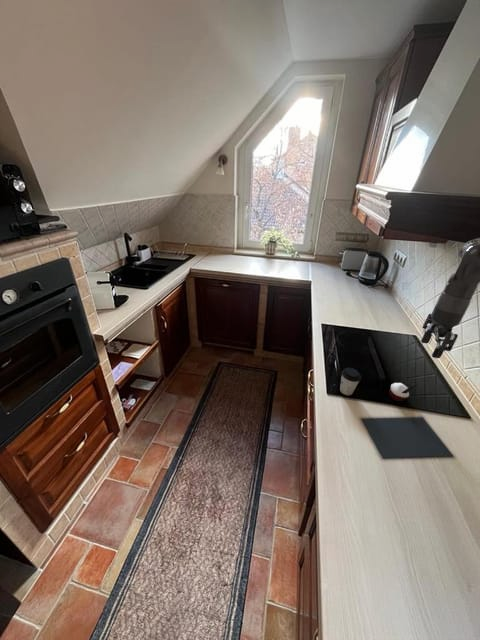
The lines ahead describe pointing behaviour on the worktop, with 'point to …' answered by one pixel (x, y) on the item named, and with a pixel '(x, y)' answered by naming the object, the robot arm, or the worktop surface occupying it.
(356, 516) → the worktop surface
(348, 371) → the coffee cup
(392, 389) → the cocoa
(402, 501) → the worktop surface
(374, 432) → the mat
